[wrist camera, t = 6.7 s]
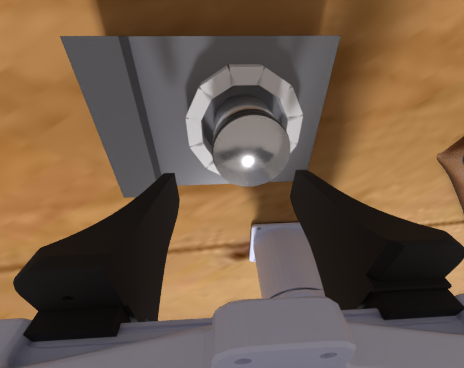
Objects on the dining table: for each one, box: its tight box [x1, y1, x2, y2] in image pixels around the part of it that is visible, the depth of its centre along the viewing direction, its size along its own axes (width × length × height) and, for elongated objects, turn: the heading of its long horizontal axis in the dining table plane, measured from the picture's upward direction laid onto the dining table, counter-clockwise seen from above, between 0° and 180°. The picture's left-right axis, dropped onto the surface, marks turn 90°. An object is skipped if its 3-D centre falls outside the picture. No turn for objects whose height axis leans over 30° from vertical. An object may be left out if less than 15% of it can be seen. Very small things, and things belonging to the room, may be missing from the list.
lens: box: [212, 95, 290, 187], centre depth 14 cm, size 4×4×5 cm
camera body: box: [60, 36, 340, 198], centre depth 17 cm, size 16×11×6 cm
